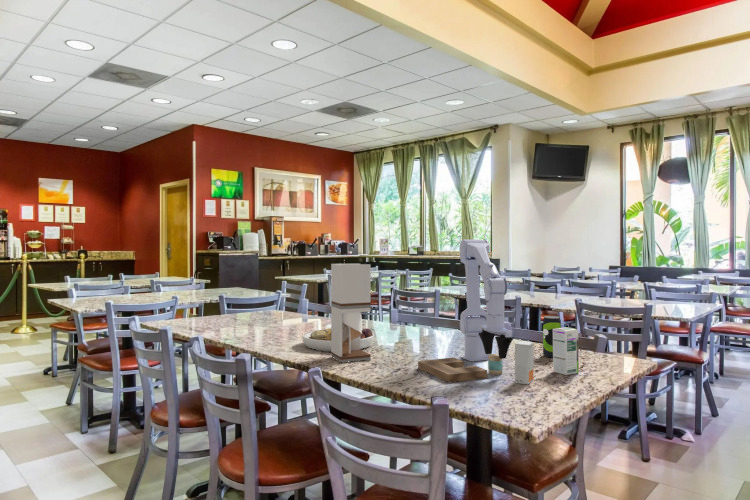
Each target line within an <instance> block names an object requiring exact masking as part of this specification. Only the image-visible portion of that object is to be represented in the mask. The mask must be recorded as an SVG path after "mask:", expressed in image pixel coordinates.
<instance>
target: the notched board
mask: <svg viewBox="0 0 750 500" xmlns="http://www.w3.org/2000/svg"><path fill="white" fill-rule="evenodd" d="M464 365H465V362H464V361H463V360H461V359H459V358H456V357H446V358H445V357H444V358H436V359H426V360H425V359H424V360H418V361H417V366H418V367H417V369H418V368H419V370H421V371H422V372H425V373H427V372H428V373H427V374H429V373H430V374H429V375H431V374H432V375H431V376H433V375H434V376H433V377H435V376H436V377H435V378H437V377H438V379H440V380H442V379H443V380H442V381H444V380H445V381H444V382H446V381H447V382H446V383H448V382H451V383H457V382H456V381H459V382H465V381H466V382H467V380H468V381H474V379H476V380H484V379H488V370H487V369H485V368H482V367H480V366H477V365H472V366H464ZM483 378H484V379H483Z"/></svg>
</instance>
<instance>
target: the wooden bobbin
mask: <svg viewBox="0 0 750 500" xmlns="http://www.w3.org/2000/svg"><path fill="white" fill-rule="evenodd" d="M503 361H504V359H500V358H499V353H492V354H489V355H488V360H487V369H488V370H487V374H488V375H491V376H501V375H503V368H504V367H503V364H504V363H503Z"/></svg>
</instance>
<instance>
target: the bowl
mask: <svg viewBox="0 0 750 500" xmlns="http://www.w3.org/2000/svg"><path fill="white" fill-rule="evenodd" d="M301 338H302V343H303V344H304V345H305V347H306V348H309V349H311V348H312V349H311V350H314V349H316V350H315V351H319V350H323V351H322V352H329V351H331V328H330V327H329V328H325V329H316V330H311V331H307V332H304V333H303V334H302V337H301ZM374 340H375V333H374V332H372V330H371V329H370V328H367V327H366V328H362V335H361V350H363V348H364V349H366V348H368V347H369V346H371V345H372V344H373V342H374Z"/></svg>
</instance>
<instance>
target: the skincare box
mask: <svg viewBox="0 0 750 500" xmlns="http://www.w3.org/2000/svg"><path fill="white" fill-rule="evenodd" d="M534 344H535V343H534V342H532V341H525V340H520V341H518V342H517V343H514V351H515V352H514V383H515V384H521V385H529V384H530V383H532V382H533V381H534V353H535V349H534V348H535V347H534Z"/></svg>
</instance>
